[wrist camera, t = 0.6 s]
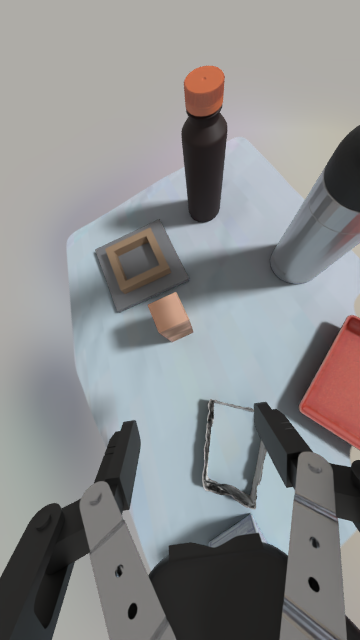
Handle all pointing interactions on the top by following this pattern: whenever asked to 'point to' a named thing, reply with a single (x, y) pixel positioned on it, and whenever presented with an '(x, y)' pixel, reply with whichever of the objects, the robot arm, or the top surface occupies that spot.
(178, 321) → the terracotta post
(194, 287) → the top surface
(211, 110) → the bottle
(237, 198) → the top surface
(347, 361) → the plant saucer
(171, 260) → the socket dock
